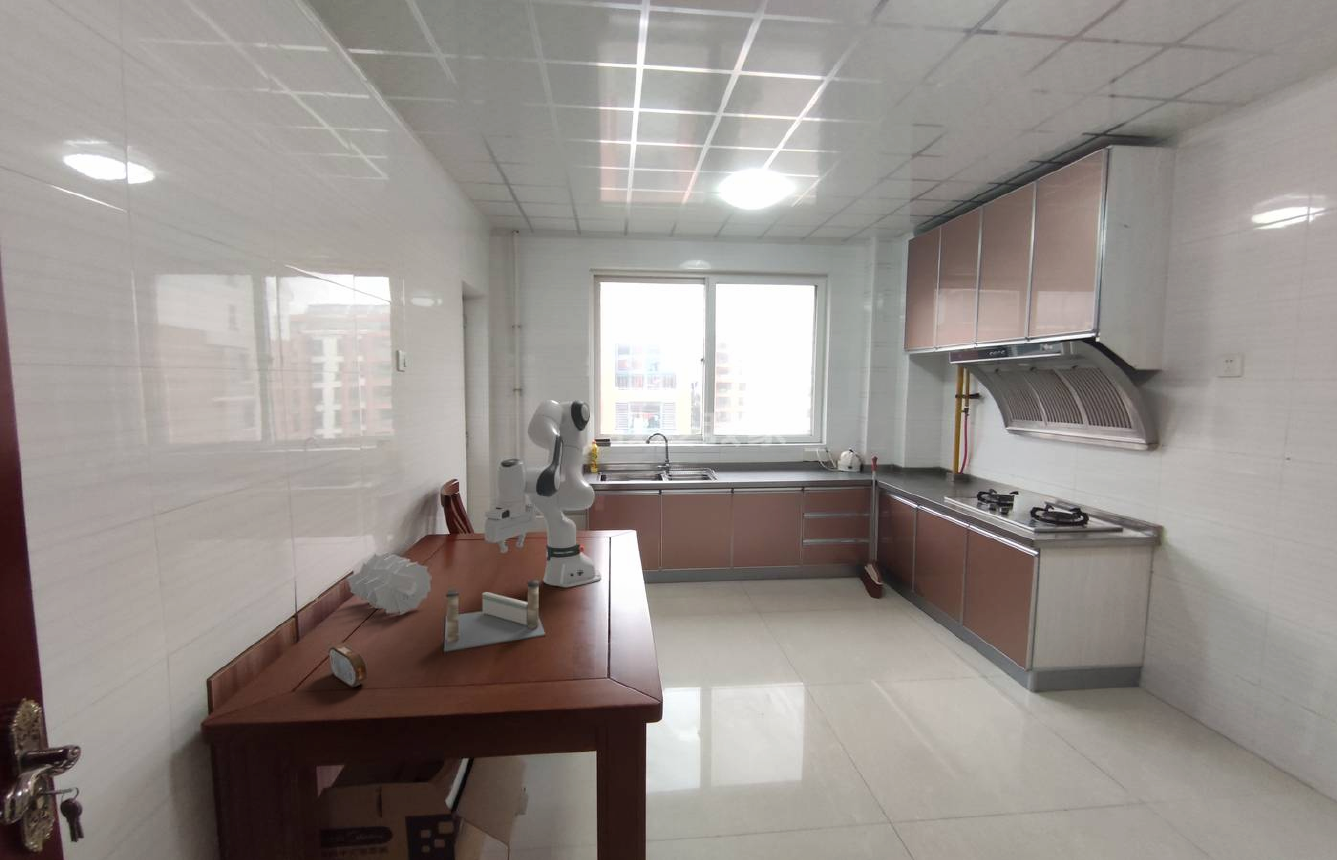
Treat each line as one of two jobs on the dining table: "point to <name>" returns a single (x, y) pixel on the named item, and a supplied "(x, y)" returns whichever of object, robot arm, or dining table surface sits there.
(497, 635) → the mat
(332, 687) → the dining table surface
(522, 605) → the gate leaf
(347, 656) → the tin
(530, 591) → the gate posts
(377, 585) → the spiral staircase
